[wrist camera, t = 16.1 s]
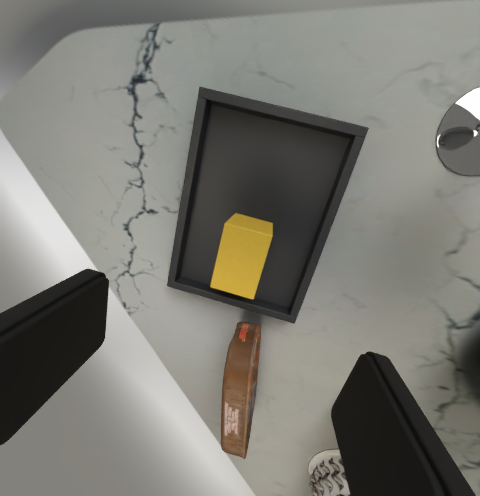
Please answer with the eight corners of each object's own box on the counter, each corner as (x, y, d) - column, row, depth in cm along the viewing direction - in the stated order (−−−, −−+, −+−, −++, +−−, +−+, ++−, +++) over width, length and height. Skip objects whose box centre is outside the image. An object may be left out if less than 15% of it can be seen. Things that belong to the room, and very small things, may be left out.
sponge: (222, 264, 26) (209, 287, 21) (235, 212, 24) (224, 222, 19) (257, 274, 26) (253, 300, 21) (272, 222, 24) (272, 235, 19)
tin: (254, 405, 32) (248, 481, 24) (232, 402, 32) (218, 475, 24) (263, 308, 28) (258, 362, 20) (236, 305, 28) (221, 357, 20)
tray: (206, 94, 22) (199, 86, 20) (360, 132, 21) (369, 127, 19) (174, 278, 28) (166, 286, 26) (293, 313, 27) (294, 323, 25)
